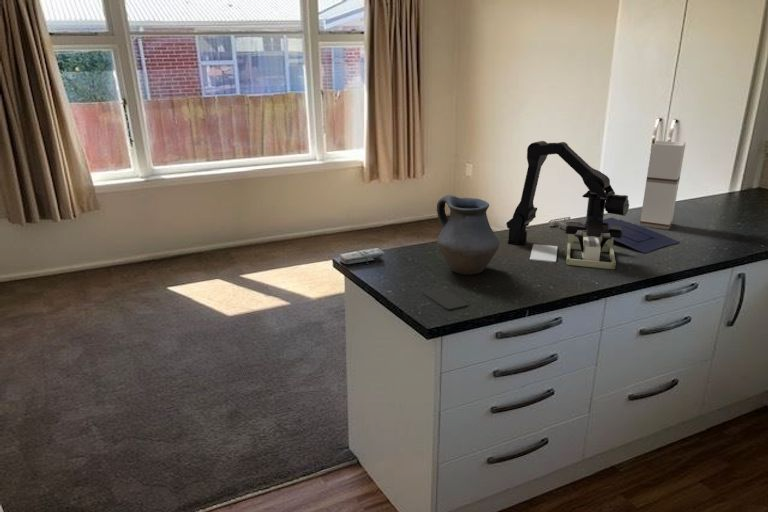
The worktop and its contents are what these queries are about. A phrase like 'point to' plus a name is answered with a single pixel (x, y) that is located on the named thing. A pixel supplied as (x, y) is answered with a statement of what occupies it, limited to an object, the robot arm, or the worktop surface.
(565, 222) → the graphics card
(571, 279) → the worktop surface
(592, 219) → the robot arm
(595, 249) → the module
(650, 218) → the tall banded white pillar
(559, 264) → the worktop surface
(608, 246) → the equipment case
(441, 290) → the phone
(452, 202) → the pitcher
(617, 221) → the navy flat panel
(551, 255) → the mat
